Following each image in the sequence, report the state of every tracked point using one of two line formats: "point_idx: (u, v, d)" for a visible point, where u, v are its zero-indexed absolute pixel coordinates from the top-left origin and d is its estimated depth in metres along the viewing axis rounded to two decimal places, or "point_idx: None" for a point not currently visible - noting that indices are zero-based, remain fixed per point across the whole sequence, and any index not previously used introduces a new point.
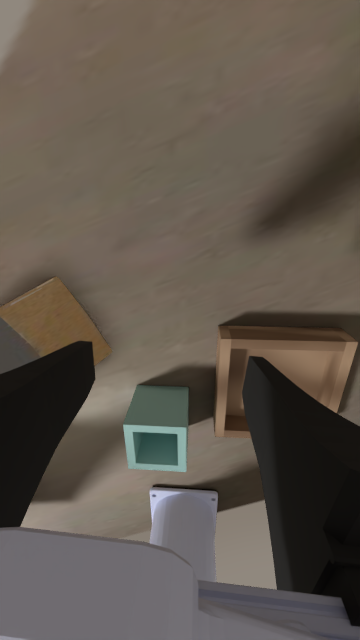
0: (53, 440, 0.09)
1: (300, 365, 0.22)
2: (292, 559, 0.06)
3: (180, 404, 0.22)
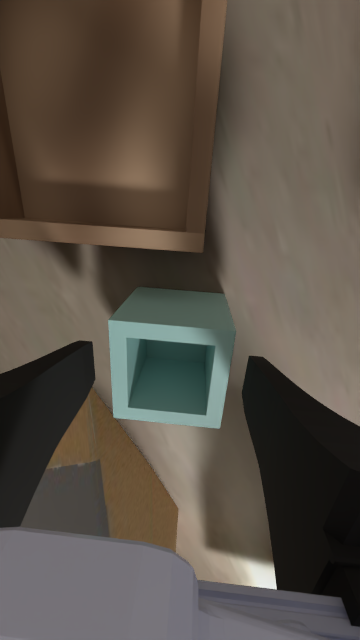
0: (53, 440, 0.09)
1: (58, 56, 0.10)
2: (292, 559, 0.06)
3: None
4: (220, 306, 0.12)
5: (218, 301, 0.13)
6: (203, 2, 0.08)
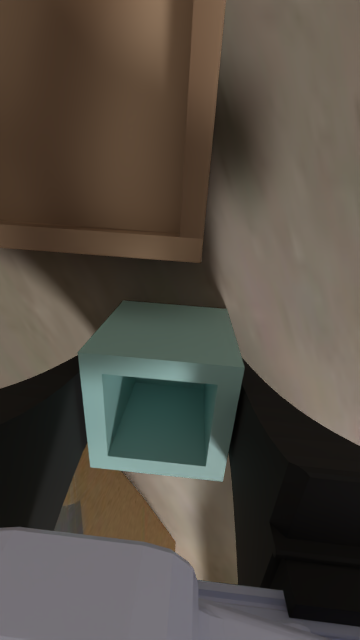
0: (81, 443, 0.09)
1: (14, 10, 0.08)
2: (248, 554, 0.06)
3: None
4: (222, 327, 0.10)
5: (220, 320, 0.11)
6: None
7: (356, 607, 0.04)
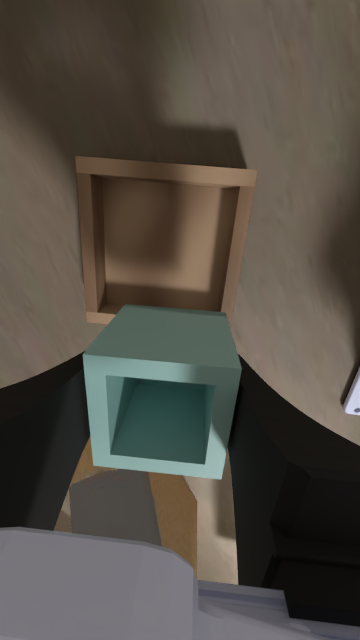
0: (81, 443, 0.09)
1: (142, 216, 0.17)
2: (248, 554, 0.06)
3: None
4: (221, 330, 0.10)
5: (218, 323, 0.11)
6: (236, 213, 0.14)
7: (356, 607, 0.04)
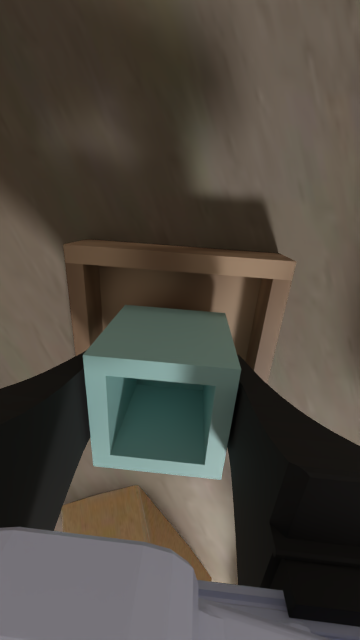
0: (81, 443, 0.09)
1: (147, 299, 0.14)
2: (248, 554, 0.06)
3: None
4: (220, 331, 0.10)
5: (218, 324, 0.11)
6: (267, 309, 0.11)
7: (356, 607, 0.04)
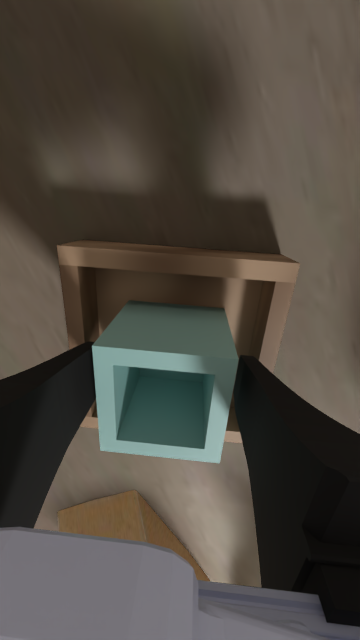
0: (64, 441, 0.09)
1: None
2: (274, 557, 0.06)
3: None
4: (220, 325, 0.11)
5: (217, 318, 0.12)
6: (270, 313, 0.11)
7: None
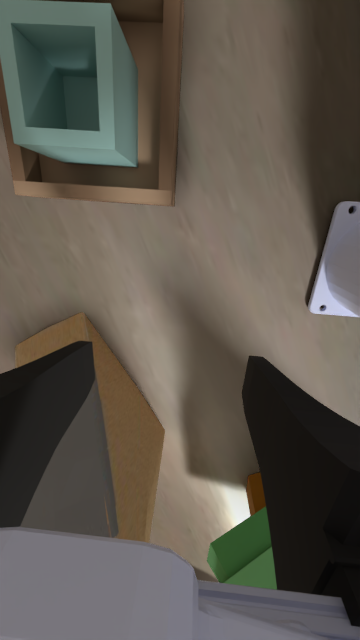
0: (53, 440, 0.09)
1: None
2: (291, 559, 0.06)
3: None
4: None
5: None
6: (163, 35, 0.13)
7: None
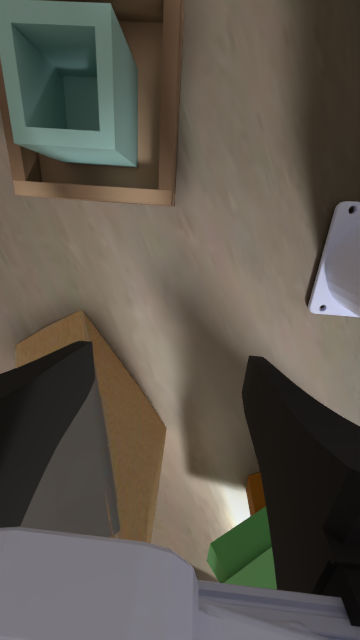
0: (53, 440, 0.09)
1: None
2: (292, 559, 0.06)
3: None
4: None
5: None
6: (163, 35, 0.13)
7: None
